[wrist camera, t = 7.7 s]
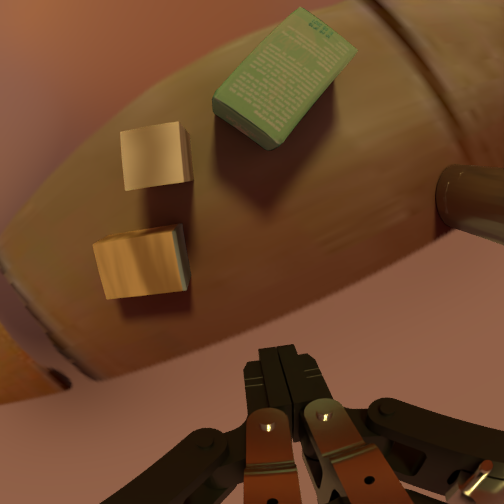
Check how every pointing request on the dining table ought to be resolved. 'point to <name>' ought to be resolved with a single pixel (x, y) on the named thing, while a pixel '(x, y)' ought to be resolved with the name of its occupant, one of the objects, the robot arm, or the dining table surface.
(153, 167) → the birch pillar
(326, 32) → the box
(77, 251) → the dining table surface
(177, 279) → the oak pillar
